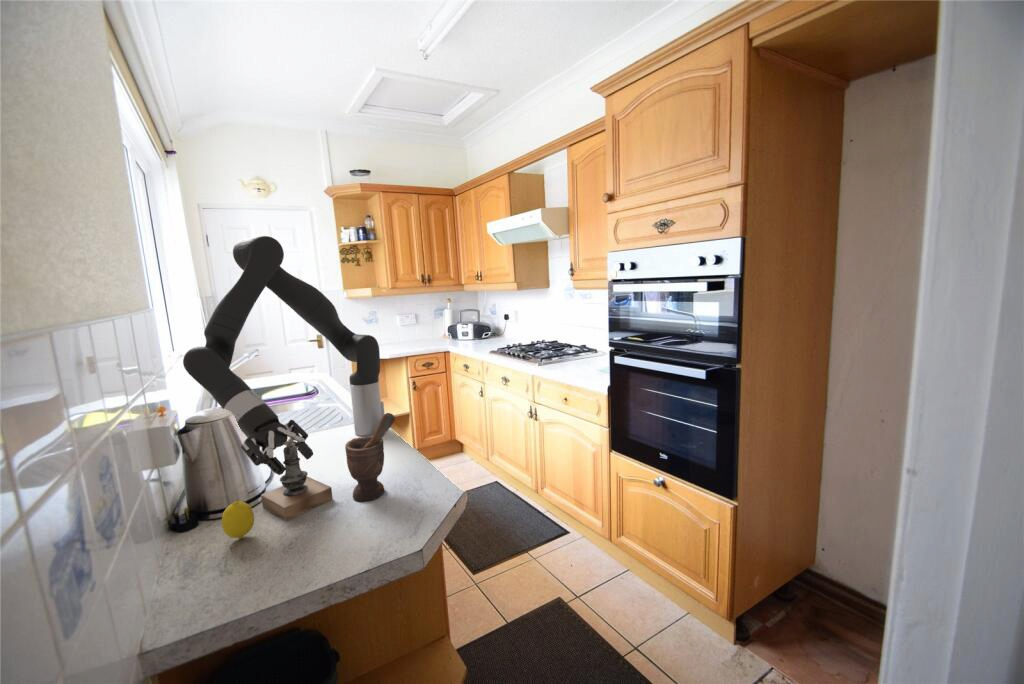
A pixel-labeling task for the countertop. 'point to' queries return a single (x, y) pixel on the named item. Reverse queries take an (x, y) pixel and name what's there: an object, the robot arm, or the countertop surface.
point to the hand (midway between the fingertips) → (297, 464)
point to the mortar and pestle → (368, 461)
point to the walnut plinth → (296, 499)
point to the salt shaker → (293, 473)
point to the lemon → (237, 519)
